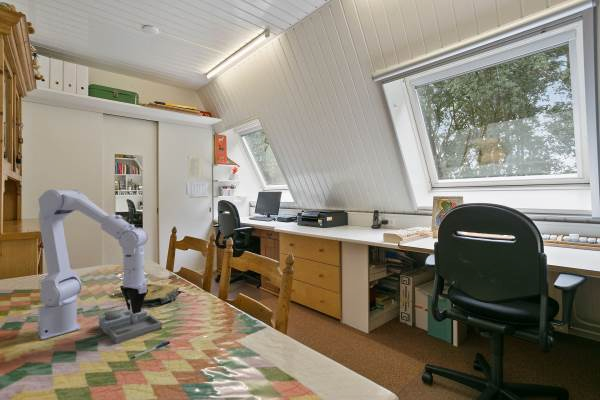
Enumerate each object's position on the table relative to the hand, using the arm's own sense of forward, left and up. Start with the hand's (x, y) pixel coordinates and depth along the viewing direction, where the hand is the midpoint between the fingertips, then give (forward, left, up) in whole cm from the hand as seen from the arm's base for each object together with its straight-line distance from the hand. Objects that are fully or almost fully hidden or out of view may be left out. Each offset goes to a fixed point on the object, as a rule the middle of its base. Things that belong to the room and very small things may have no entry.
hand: (134, 310), depth 93 cm
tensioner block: (0, +8, -6) cm, 11 cm away
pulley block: (+15, +28, -7) cm, 32 cm away
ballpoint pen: (-1, -16, -7) cm, 17 cm away
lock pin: (0, 0, -4) cm, 4 cm away
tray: (0, 0, -6) cm, 6 cm away
